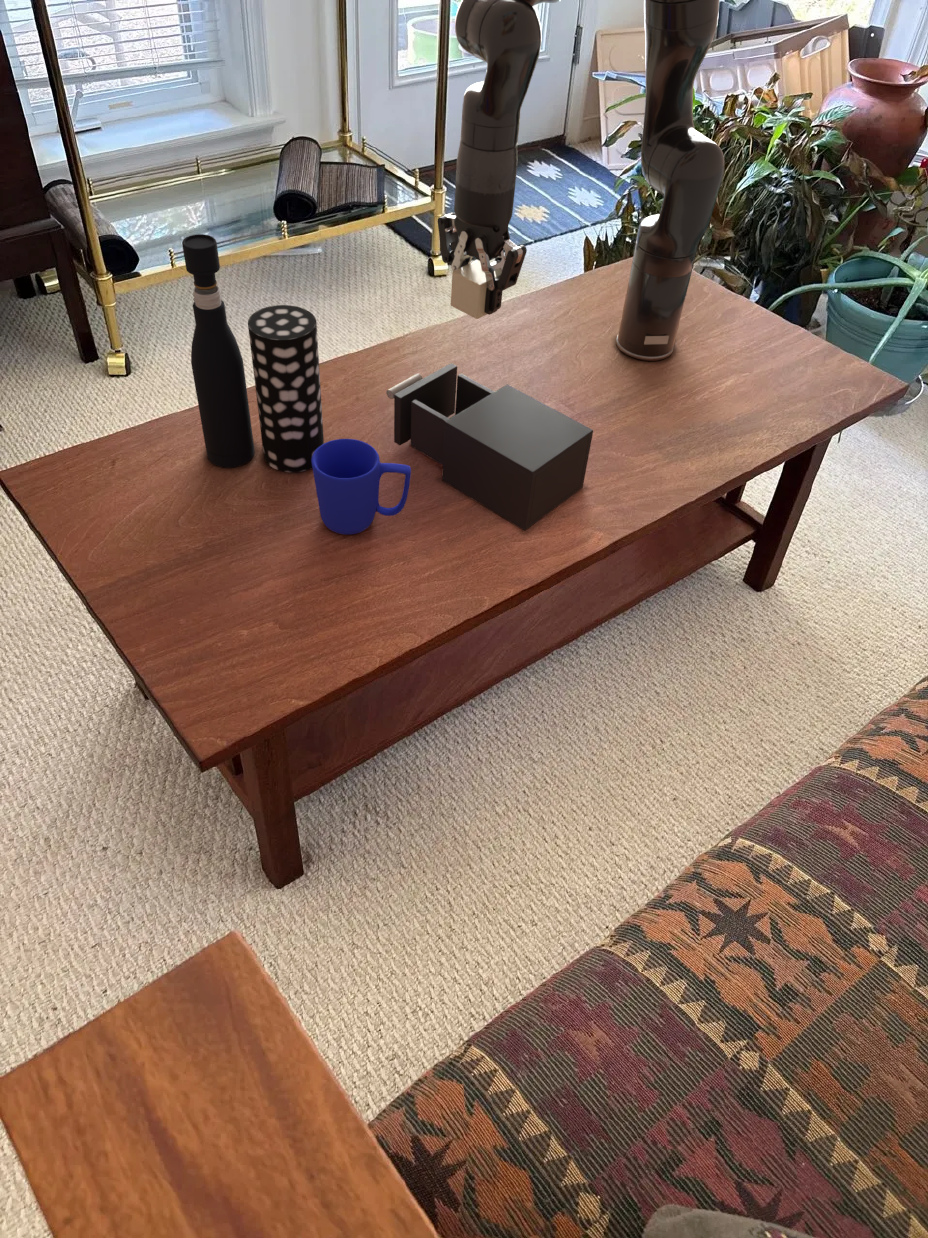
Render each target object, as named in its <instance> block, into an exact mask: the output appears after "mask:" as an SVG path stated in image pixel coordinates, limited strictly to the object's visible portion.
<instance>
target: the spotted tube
mask: <svg viewBox="0 0 928 1238" xmlns="http://www.w3.org/2000/svg"><path fill="white" fill-rule="evenodd" d="M317 324H318V323H317V319H316V316H315V315H314V314H313V313H312V312H311V311H309V310H308V309H306V308H303V307H300V306H295V305H290V304H277V305H269V306H266V307H262V308H260V309H258V310H256V311H255V312H253V313H252V314H251V315H250V316H249V318H248V319H247V329H248V336H249V337H248V338H249V345H250V354H251V361H252V370H253V371H252V372H253V380H254V386H255V395H256V403H257V412H258V419H259V420H258V421H259V429H260V436H261V444H262V452H263V454H262V455H263V459H264V461H265V463H266V464H267V465H268V466H269V467H271V468H272V469H275V470H277V471H280V472H284V473H301V472H306V471H309V470H313V468H312V462H311V459H312V455H313V453H314V451H315V450H316V449H317V448H318V447H319V446H321V445H322V444H324V443H325V437H324V422H323V407H322V406H323V405H322V389H321V373H320V359H319V358H320V357H319V342H318V341H319V339H318V325H317Z"/></svg>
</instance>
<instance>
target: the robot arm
mask: <svg viewBox="0 0 928 1238" xmlns="http://www.w3.org/2000/svg"><path fill="white" fill-rule="evenodd" d="M558 2H561V0H461V1H460V3H459V5H458V8H457V11H456V15H455V19H454V33H455V37H456V41H457V42H458V44H459V46H460V47H461V48H462V49H463V51H465V52H466V53H468V54H469V55H470V56H472V57H474V58H476V59H479V60H481V61H483V62H484V63H486V72H485V77H484V80H483V81H478V82H475V83H473V84H470V86H468V87H467V88H466V90H465V91H464V94H463V98H462V108H461V122H460V135H459V137H460V138H459V146H458V150H457V155H456V167H455V169H456V170H455V171H456V172H455V185H454V186H455V188H454V203H453V204H454V206H453V211H454V212H450V213H447V214H443V215H442V216H440V217H438V218H437V228H438V236H439V244H440V253H441V260H442V262H443V263H444V264H449V265H450V269H451V271H452V272H453V271H454V270H457V269H459V268H461V267H463V266H465V265H468V264H470V263H472V260H473V258H475V259H477V260H478V261H480V264H481V269H482V272H483V273H485V276H486V282H487V287H488V288H486V298H485V310H484V312H485V313H487V315H488V316H490V315H492V314H494V313H496V312H497V311H499V310H501V308H502V302H501V301H502V300H503V292H502V291H505V290H508V289H510V288H511V287H514V286H516V284H517V282H518V279H519V276H520V274H521V270H522V267H523V264H524V261H525V258H526V255H527V252H528V250H527V246H526V245H524V244H521V245H519V246H518V245H517V244H516V243H514V242H513V241H512V240H511V235H510V232H509V225H510V222H511V220H512V217H513V213H514V204H515V203H514V202H515V194H516V193H515V192H516V183H517V182H516V181H517V173H518V162H519V161H518V158H519V157H518V142H519V133H520V124H521V112H522V111H521V110H522V106H523V103H524V101H525V98H526V96H527V93H528V91H529V87H530V84H531V81H532V79H533V75H534V73H535V69H536V66H537V64H538V61H539V57H540V53H541V49H542V37H543V36H542V35H543V34H542V25H541V21H540V18H539V15H538V12H537V10H536V9H535V8H534V6H536V5H538V4H556V3H558ZM719 11H720V0H643V13H644V14H643V15H644V18H643V19H644V34H645V35H644V36H645V37H644V38H645V67H644V68H645V97H644V98H645V99H644V114H643V115H644V116H643V117H644V118H643V125H642V135H641V147H640V168H641V173H642V176H643V178H644V179H645V181H646V183H647V184H648V185H649V186H650V187H651V188H652V189H653V190H654V191H656V192H657V193H659V194H660V195H661V196H663V200H662V203H661V207H660V211H659V213H657V214H652V215H649V216H646V217H645V218H644V219H643V220H642V221H641V222H640V223H639V226H638V230H637V234H636V241H635V246H634V249H633V255H632V261H631V267H630V271H629V277H628V282H627V286H626V293H625V298H624V303H623V307H622V312H621V317H620V322H619V327H618V333H617V335H616V340H615V343H616V347H617V348H618V350H619V351H620V352H622V353H623V354H625V355H626V356H628V357H631V358H633V359H637V360H642V361H650V362H651V361H660V360H664V359H667V358H668V357H670V356H671V355H672V354H673V352H674V349H675V341H676V338H677V334H678V330H679V326H680V322H681V317H682V313H683V309H684V304H685V301H686V296H687V293H688V289H689V286H690V281H691V276H692V273H693V268H694V263H695V260H696V256H697V252H698V248H699V244H700V241H701V240H702V239H703V237H704V235H705V233H706V232H707V230H708V228H709V225H710V222H711V219H712V216H713V212H714V210H715V205H716V203H717V199H718V195H719V193H720V189H721V187H722V183H723V178H724V173H725V156H724V152H723V150H722V148H721V147H720V146H719V145H718V144H717V143H716V142H715V141H713V140H711V139H710V138H709V137H708V136H706V135H704V134H703V133H701V132H700V131H698V130H696V128H695V123H694V114H693V113H694V112H693V104H694V103H693V100H694V99H693V97H694V84H695V80H696V77H697V74H698V71H699V70H700V67H701V65H702V64H703V61H704V59H705V58H706V55H707V53H708V52H709V50H710V48H711V46H712V43H713V41H714V39H715V35H716V31H717V27H718V23H719ZM492 260H493V261H492ZM490 261H492V262H490ZM494 271H495V273H496V278H495V276H494ZM500 307H501V308H500Z"/></svg>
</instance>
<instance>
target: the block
mask: <svg viewBox="0 0 928 1238" xmlns="http://www.w3.org/2000/svg"><path fill="white" fill-rule="evenodd" d="M494 276H495V278H496V273H495V271H494ZM486 288H488V287H487V282H486V276H485V273H483V272H482V269H481V264H480V261H479V260H478V259H477V260H474V261H471V262H470V264H468V265H465V266H463V267H461V268H459V269H457V270H454V271H452V274H451V288H450V289H451V291H450V306H451V307H453V308H454V309H456V310H458V311H459V312H462V313H464V314H466V315H468V316H469V317H472V318H474V319H476V320H479V319H481V318H483V317H485V316H487V315H488V314H487V313H485V312H484V310H485V298H486ZM503 291H504V290H503ZM503 291H502V293H503ZM501 303H502V301H501ZM501 308H502V306H501V307H500V309H501Z"/></svg>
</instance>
